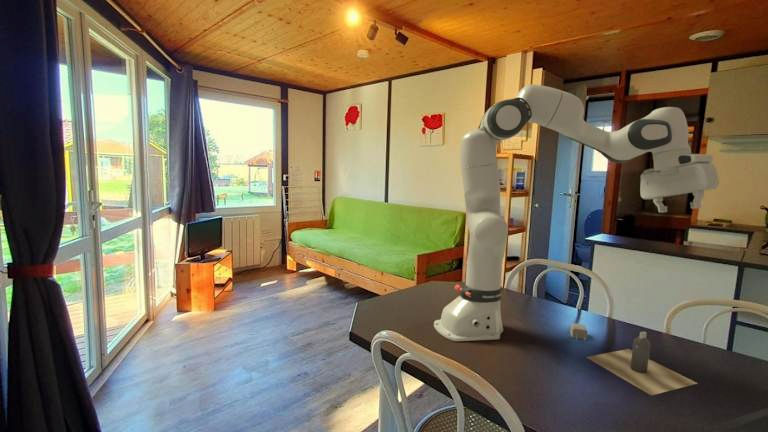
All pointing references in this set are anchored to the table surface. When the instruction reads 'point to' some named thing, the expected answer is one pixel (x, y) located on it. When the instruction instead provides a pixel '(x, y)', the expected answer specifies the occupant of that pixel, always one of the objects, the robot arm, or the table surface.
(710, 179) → the robot arm
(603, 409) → the table surface
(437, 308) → the table surface
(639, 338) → the dark bottle
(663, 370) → the birch board
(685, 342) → the table surface
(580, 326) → the usb wall charger
